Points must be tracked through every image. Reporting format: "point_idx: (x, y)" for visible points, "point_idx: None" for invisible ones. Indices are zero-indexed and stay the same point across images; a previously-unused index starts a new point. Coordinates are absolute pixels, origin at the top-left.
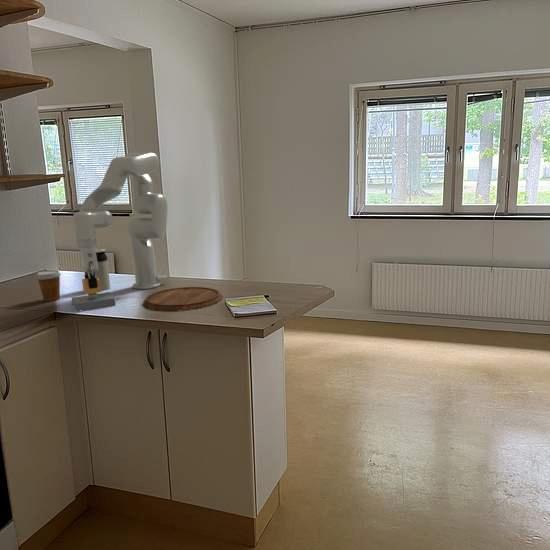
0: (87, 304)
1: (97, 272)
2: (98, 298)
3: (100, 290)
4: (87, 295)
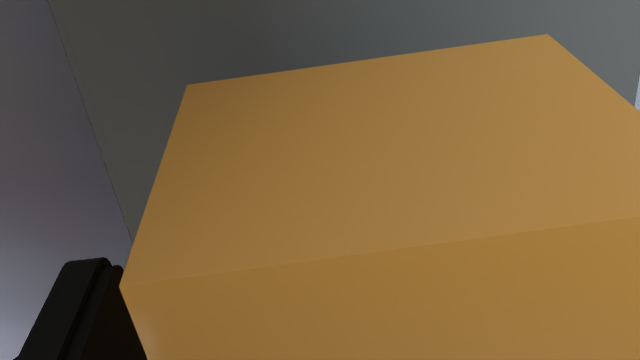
0: None
1: None
2: None
3: (561, 61)
4: (126, 220)
